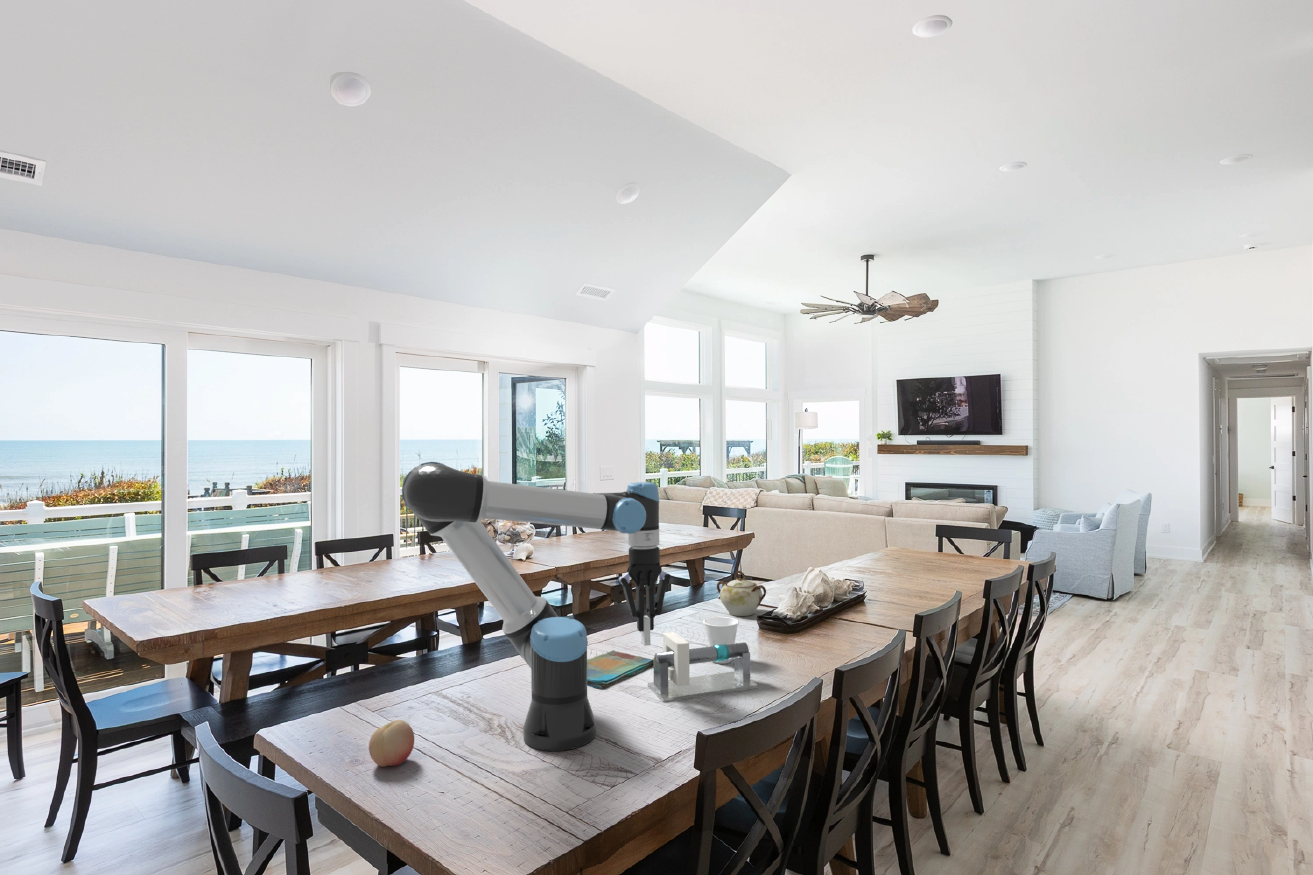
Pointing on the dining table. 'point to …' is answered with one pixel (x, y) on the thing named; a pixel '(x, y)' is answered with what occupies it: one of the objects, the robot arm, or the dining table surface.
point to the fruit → (391, 743)
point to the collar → (677, 658)
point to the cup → (720, 632)
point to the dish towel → (613, 668)
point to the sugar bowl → (741, 596)
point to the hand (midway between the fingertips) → (645, 643)
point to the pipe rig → (707, 682)
